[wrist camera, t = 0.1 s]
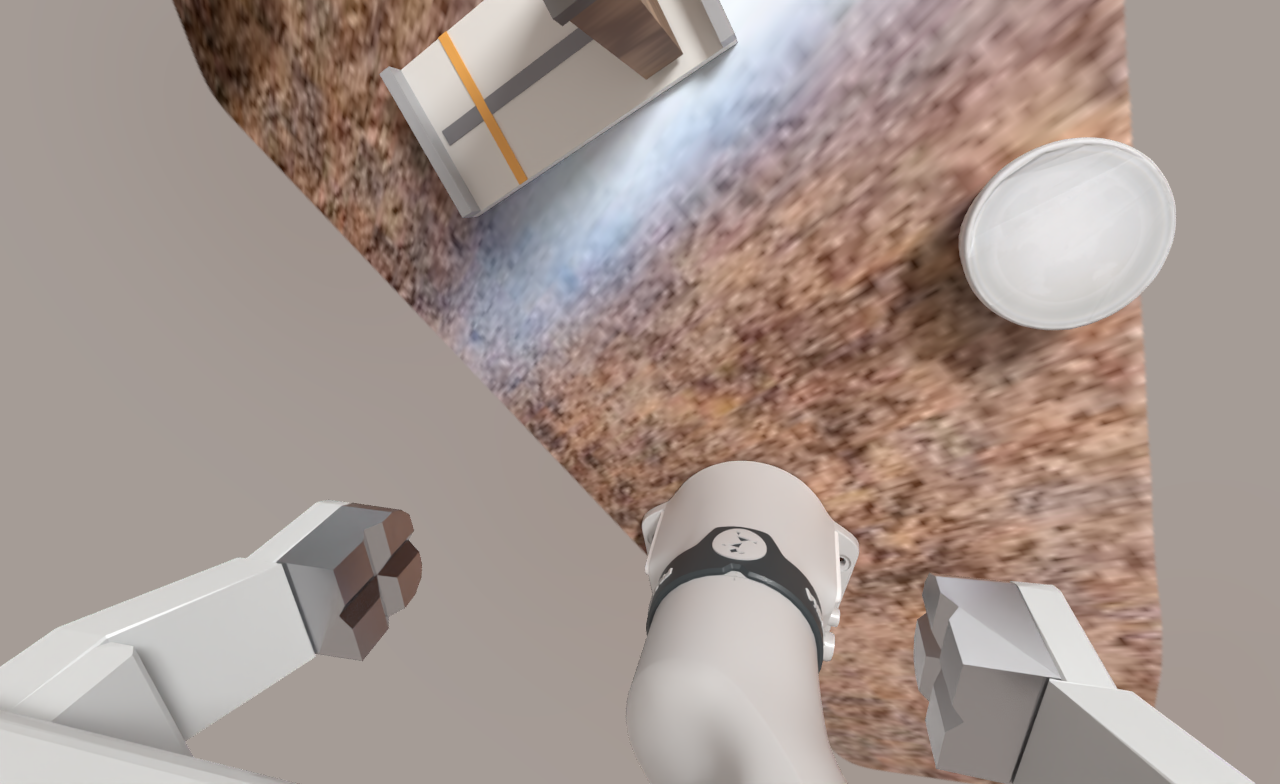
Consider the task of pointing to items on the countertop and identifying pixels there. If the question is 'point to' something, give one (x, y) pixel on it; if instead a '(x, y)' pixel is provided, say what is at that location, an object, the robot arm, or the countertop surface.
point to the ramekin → (1068, 233)
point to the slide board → (531, 92)
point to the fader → (623, 30)
